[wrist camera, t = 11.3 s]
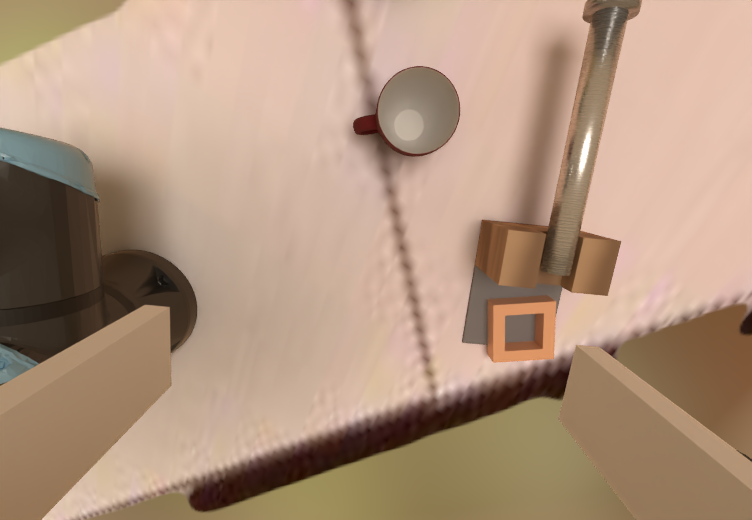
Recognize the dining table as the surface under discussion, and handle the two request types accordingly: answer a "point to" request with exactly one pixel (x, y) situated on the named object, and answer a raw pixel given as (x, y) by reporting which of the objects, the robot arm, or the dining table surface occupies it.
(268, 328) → the dining table surface
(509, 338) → the mat
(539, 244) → the cradle block
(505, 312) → the frame
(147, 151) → the dining table surface
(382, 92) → the mug
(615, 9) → the shaft
